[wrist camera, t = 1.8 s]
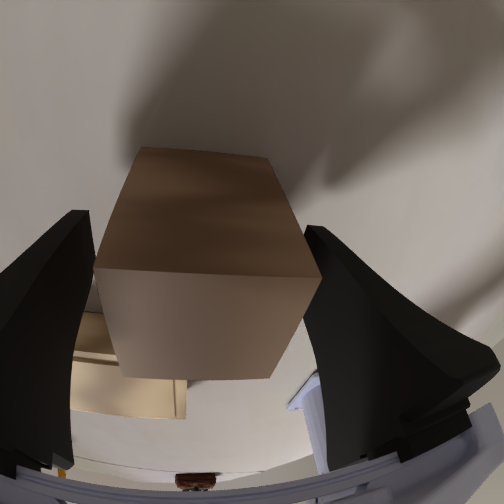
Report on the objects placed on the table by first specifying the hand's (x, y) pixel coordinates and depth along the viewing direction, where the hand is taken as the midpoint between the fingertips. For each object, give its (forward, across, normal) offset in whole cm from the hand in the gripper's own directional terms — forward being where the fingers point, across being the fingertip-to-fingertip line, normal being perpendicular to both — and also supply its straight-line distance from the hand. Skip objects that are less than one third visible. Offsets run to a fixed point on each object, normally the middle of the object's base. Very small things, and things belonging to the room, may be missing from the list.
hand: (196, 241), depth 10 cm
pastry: (+2, -3, +80) cm, 80 cm away
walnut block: (+2, 0, 0) cm, 2 cm away
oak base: (+2, +5, +12) cm, 13 cm away
